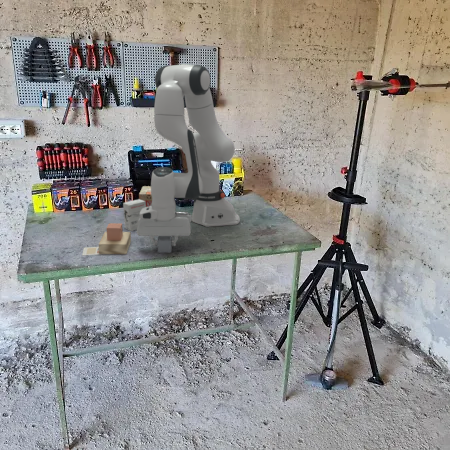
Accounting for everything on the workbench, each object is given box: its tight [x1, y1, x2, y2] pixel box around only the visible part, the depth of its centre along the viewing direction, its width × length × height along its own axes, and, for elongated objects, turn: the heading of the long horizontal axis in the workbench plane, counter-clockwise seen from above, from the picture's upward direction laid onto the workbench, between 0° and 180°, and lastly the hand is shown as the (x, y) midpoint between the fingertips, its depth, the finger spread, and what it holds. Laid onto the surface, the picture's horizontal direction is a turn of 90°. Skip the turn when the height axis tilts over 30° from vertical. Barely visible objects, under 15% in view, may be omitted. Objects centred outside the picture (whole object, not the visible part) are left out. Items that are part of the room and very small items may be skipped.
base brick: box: [98, 231, 132, 255], centre depth 160 cm, size 10×12×4 cm
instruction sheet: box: [81, 246, 101, 257], centre depth 157 cm, size 9×7×1 cm
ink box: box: [122, 198, 146, 232], centre depth 178 cm, size 9×5×12 cm, turn 134°
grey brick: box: [157, 236, 173, 253], centre depth 159 cm, size 5×5×5 cm
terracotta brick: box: [105, 222, 124, 241], centre depth 158 cm, size 5×5×5 cm
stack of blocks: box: [138, 185, 152, 207], centre depth 198 cm, size 21×6×12 cm, turn 2°
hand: (164, 245), depth 159 cm, fingers open, 5 cm apart
